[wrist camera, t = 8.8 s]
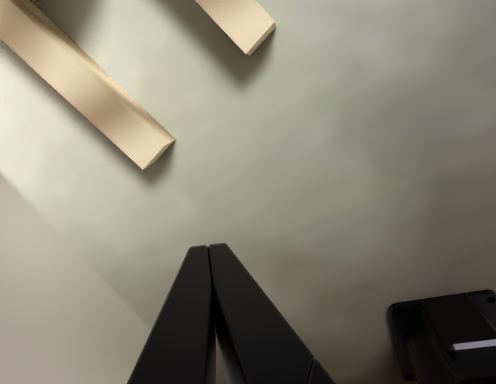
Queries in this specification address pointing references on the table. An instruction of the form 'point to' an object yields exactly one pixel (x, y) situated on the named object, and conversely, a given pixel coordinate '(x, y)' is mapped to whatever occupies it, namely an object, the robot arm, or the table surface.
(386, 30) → the table surface
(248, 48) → the cradle
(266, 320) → the robot arm
